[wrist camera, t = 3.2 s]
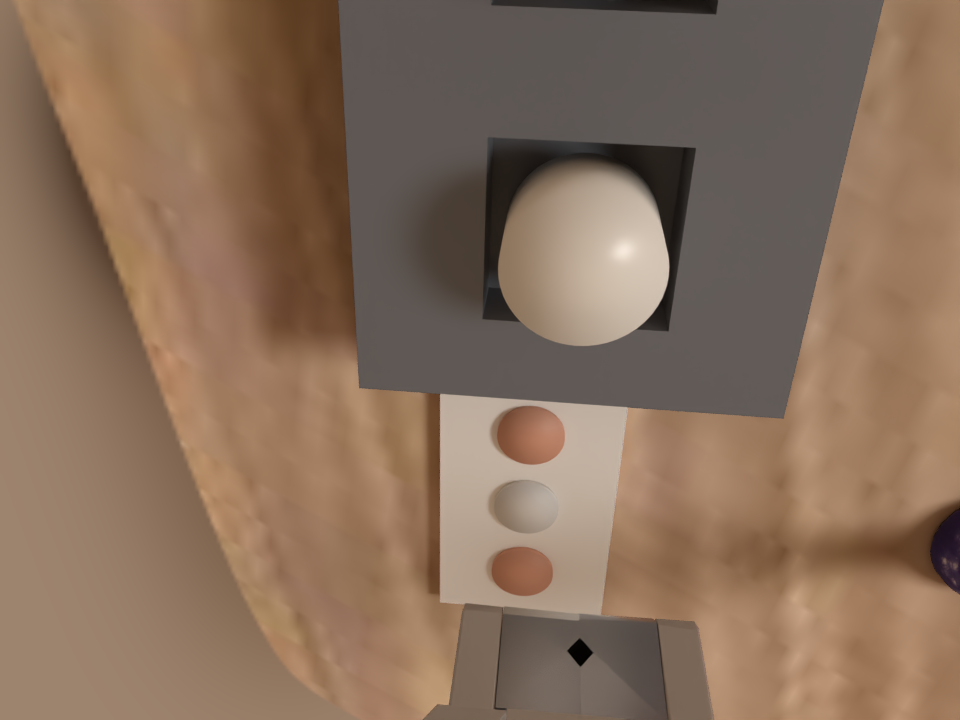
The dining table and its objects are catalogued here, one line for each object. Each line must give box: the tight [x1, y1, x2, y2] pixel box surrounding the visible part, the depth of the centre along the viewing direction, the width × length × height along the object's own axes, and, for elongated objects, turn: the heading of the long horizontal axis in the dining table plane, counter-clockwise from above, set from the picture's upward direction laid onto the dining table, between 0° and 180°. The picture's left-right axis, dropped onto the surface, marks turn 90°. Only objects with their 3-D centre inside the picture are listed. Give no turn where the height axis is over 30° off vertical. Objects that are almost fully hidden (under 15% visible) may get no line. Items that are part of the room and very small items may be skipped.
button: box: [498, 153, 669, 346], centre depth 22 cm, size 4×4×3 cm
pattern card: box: [440, 394, 628, 615], centre depth 31 cm, size 10×6×1 cm, turn 179°
